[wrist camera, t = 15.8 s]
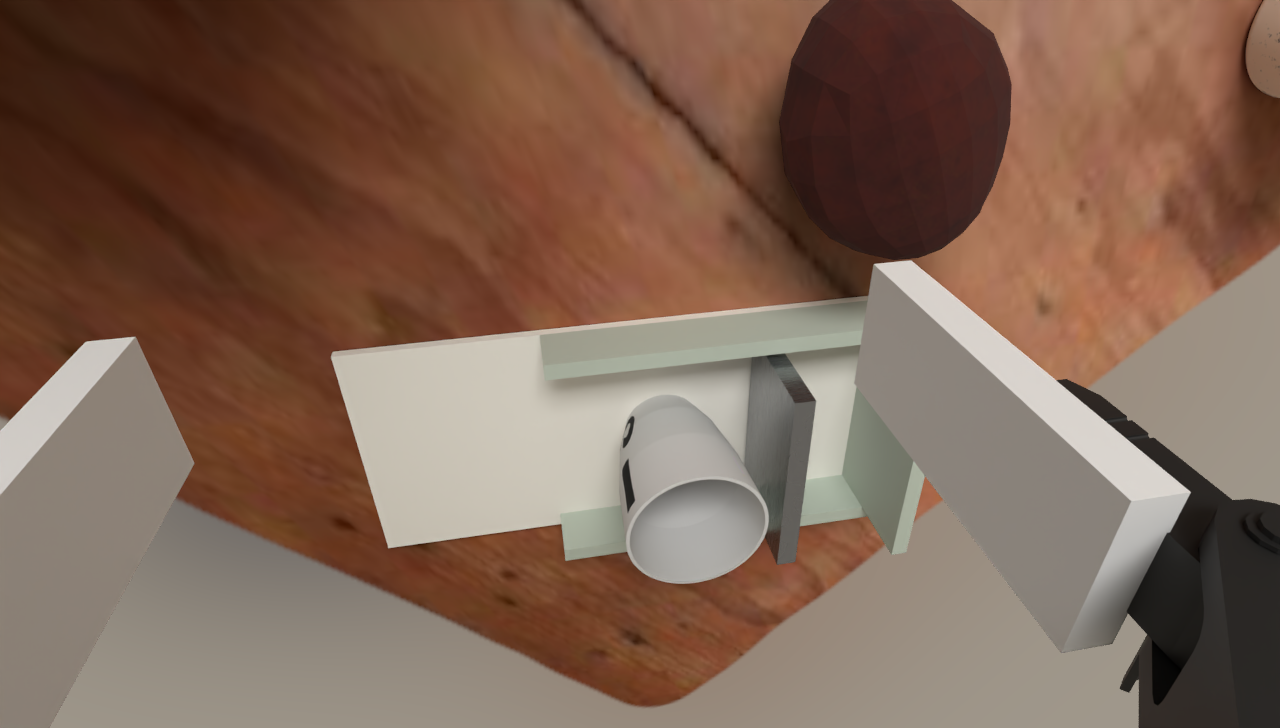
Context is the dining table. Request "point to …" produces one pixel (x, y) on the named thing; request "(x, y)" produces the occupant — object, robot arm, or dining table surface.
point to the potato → (895, 123)
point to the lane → (605, 421)
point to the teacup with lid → (1265, 49)
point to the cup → (685, 495)
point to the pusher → (779, 447)
